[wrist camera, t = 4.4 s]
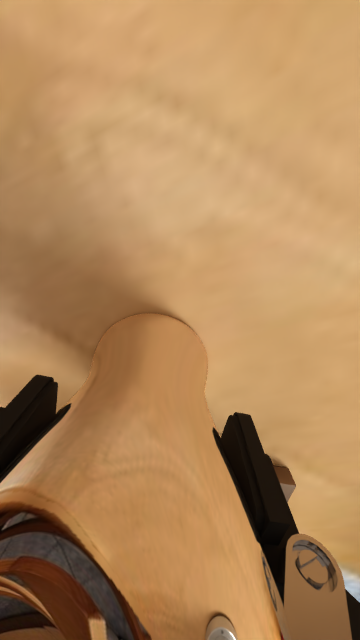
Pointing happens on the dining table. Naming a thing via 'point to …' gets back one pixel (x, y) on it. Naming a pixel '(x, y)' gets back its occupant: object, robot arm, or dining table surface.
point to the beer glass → (134, 508)
